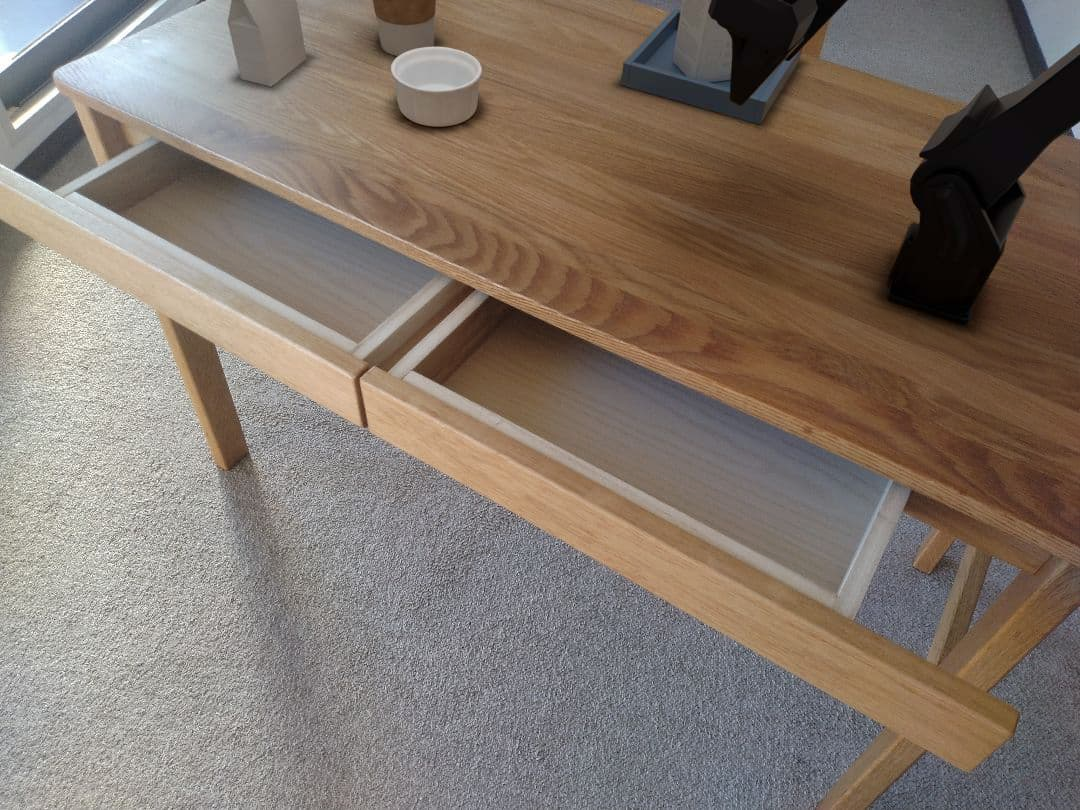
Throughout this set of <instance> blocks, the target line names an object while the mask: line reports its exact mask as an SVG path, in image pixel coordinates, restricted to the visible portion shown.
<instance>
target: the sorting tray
mask: <svg viewBox="0 0 1080 810" xmlns="http://www.w3.org/2000/svg"><path fill="white" fill-rule="evenodd" d="M680 13H681V9H679V8H675V7H674V8H673V9H672V10H671V11H670V13H668V15H667V16H666V17H665V18H664V19H662V21H661V22H660V23H659V24H658V25H657V27H655V29H653V30H652V32H650V34H649V35H648V36H647V37H646V38H644V40H643V42H641V43H640V44H639V46H638V47H637V48H636V49H635V50H634V51H633V52H632V53H631V54H630V56H628V57H627V58H626V59H625V61H623V63H622V71H621V79H620V86H623V87H627V88H630V89H633V90H637V91H640V92H644V93H647V94H650V95H654V96H657V97H662V98H665V99H669V100H671V101H675V102H679V103H682V104H687V105H689V106H693V107H697V108H701V109H704V110H708V111H712V112H714V113H718V114H722V115H725V116H729V117H733V118H735V119H740V120H743V121H747V122H750V123H754V124H757V125H761V124H762V122H763V121H764V119H765V118H766V116H767V114H768V113H769V111H770V109H771V108H772V106H773V105H774V103H775V101H776V100H777V98H778V97H779V95H780V93H781V92H782V91H783V89H784V87H785V86H786V84H787V83H788V81H789V79H790V77H791V76H792V75H793V72H794V71H795V69H796V68H797V66H798V64H799V63H800V60H801V57H802V53H803V50H804V47H803V48H802V49H801V50H800V51H799V52H798V53H797V54H796V55H795V56H794V57H793V58H792V59H791V60H790V61H786V60H784V61H783V62H782V63H781V64H780V65H779V66H778V68H777V69H776V70H775V71H774V72H773V73H772V74H771V75H770V76H769V77H768V78H767V79H766V81H765V82H764V83H763V84H762V85H761V86H760V87H759V88H758V89H757V90H756V91H755V92H754V93H753V95H752V96H751V97H750V98H749V99H748V100H747V101H746V102H745V103H744V104H743V105H742V106H739V105H737V104H735V103H733V102H732V101H731V100H730V82H731V80H726V81H719V82H712V83H709V82H705V81H701V80H698V79H694V78H690V77H687V76H685V75H684V73H683V72H682V71H681V70H680V69H679V68H678V67H677V66H676V65H675V64H674V63H673V56H674V50H675V44H676V38H677V32H678V25H679V20H680Z"/></svg>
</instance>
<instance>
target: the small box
mask: <svg viewBox="0 0 1080 810" xmlns="http://www.w3.org/2000/svg"><path fill="white" fill-rule="evenodd" d="M710 3H711V0H682V2H681V8H680V10H681V13H680V20H679V25H678V32H677V38H676V44H675V50H674V56H673V63H674V64H675V65H676V66H677V67H678V68H679V69H680V70H681V71H682V72H683V73H684V75H685V76H687V77H690V78H694V79H698V80H701V81H705V82H709V83H712V82H719V81H726V80H731V65H732V39H731V36H730V34H729V33H728V31H727V29H725V28H723V27H721V26H720V25H718V23H717V21H716V20H714V19H712V18H711V17H710V15H709V13H708V9H709V6H710Z"/></svg>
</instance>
